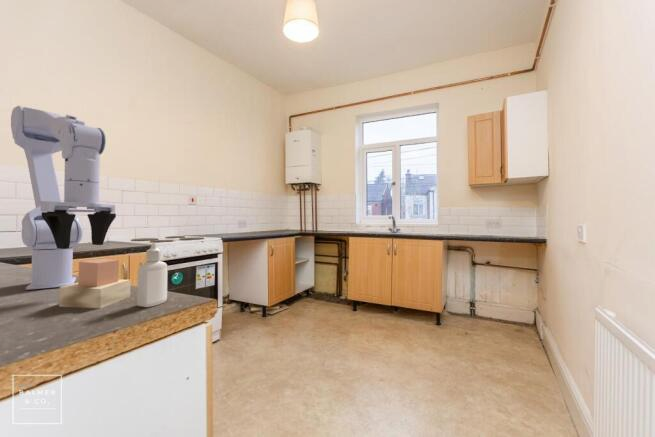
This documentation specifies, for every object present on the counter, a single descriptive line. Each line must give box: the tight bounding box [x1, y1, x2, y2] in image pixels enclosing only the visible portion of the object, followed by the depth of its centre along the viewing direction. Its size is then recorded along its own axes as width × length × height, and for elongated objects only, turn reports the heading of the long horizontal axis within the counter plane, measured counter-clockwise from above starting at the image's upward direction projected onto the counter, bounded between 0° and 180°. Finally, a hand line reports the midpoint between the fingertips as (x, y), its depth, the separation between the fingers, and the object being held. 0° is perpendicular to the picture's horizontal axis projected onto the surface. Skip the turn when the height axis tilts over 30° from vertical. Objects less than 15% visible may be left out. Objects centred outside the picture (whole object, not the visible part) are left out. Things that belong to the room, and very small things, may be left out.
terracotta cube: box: [77, 258, 120, 287], centre depth 60 cm, size 4×4×4 cm
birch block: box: [58, 278, 132, 309], centre depth 60 cm, size 8×8×4 cm
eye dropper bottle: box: [136, 242, 168, 308], centre depth 60 cm, size 4×6×12 cm
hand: (81, 246), depth 64 cm, fingers open, 7 cm apart
